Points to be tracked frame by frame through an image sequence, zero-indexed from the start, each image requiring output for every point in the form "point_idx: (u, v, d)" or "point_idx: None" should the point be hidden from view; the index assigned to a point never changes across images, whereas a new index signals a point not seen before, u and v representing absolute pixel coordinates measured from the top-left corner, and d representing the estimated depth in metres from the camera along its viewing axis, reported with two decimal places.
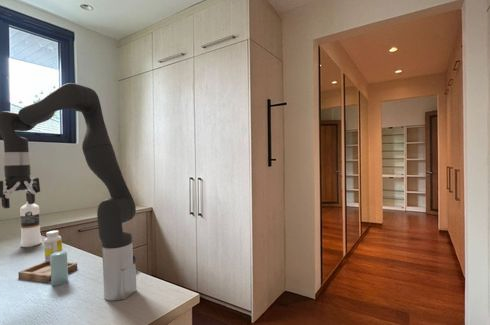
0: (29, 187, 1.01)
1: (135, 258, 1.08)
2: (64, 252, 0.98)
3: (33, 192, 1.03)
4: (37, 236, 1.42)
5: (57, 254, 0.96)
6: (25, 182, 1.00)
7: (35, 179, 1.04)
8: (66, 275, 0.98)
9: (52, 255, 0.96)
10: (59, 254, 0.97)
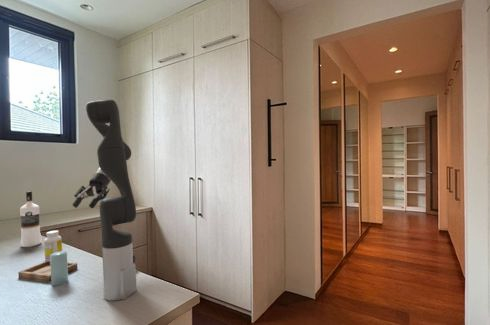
0: (94, 191, 1.11)
1: (135, 258, 1.09)
2: (64, 252, 0.98)
3: (95, 196, 1.09)
4: (37, 236, 1.42)
5: (57, 254, 0.96)
6: (93, 187, 1.12)
7: None
8: (66, 275, 0.98)
9: (52, 255, 0.96)
10: (59, 254, 0.97)
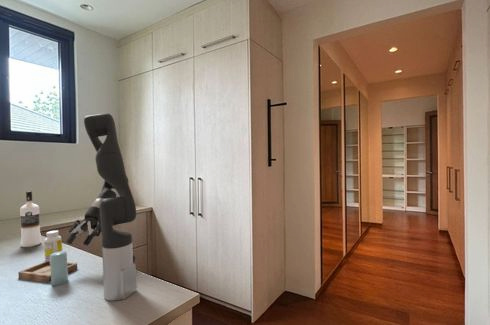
0: (89, 227, 1.07)
1: (134, 257, 1.09)
2: (63, 252, 0.98)
3: (90, 232, 1.06)
4: (37, 236, 1.42)
5: (57, 254, 0.96)
6: (88, 222, 1.09)
7: None
8: (66, 275, 0.98)
9: (52, 255, 0.96)
10: (59, 254, 0.97)
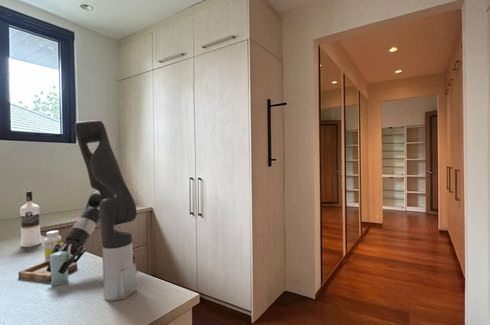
0: (68, 252, 0.99)
1: (134, 257, 1.10)
2: (64, 252, 0.98)
3: (66, 259, 0.97)
4: (37, 236, 1.42)
5: (57, 254, 0.96)
6: (70, 245, 1.01)
7: None
8: (66, 275, 0.98)
9: (52, 255, 0.96)
10: (59, 254, 0.97)
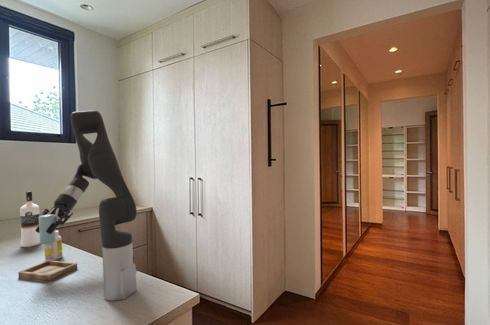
0: (55, 214, 1.06)
1: (133, 256, 1.10)
2: (52, 215, 1.06)
3: (54, 221, 1.05)
4: (37, 236, 1.42)
5: (45, 216, 1.04)
6: (57, 209, 1.08)
7: None
8: (54, 236, 1.05)
9: (40, 216, 1.03)
10: (47, 216, 1.04)
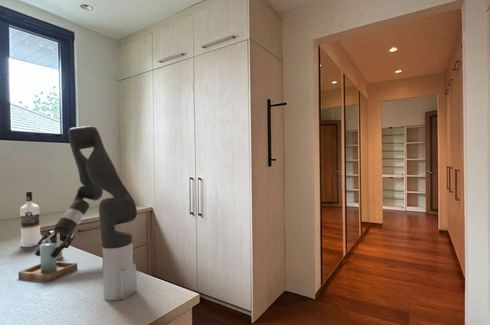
0: (58, 239, 1.07)
1: (133, 256, 1.11)
2: (52, 243, 1.07)
3: (58, 244, 1.05)
4: (37, 236, 1.42)
5: (46, 244, 1.05)
6: (58, 233, 1.08)
7: None
8: (55, 264, 1.06)
9: (41, 245, 1.04)
10: (48, 244, 1.05)
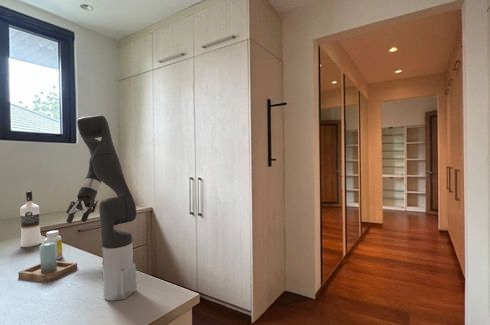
0: (83, 205, 1.17)
1: None
2: (53, 243, 1.07)
3: (85, 210, 1.15)
4: (37, 236, 1.42)
5: (46, 245, 1.05)
6: (82, 201, 1.18)
7: None
8: (55, 264, 1.06)
9: (41, 245, 1.04)
10: (48, 244, 1.05)
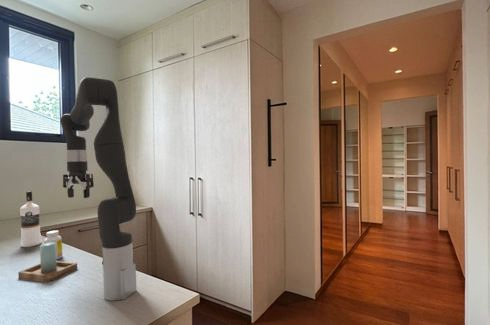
0: (79, 182, 1.09)
1: None
2: (53, 243, 1.06)
3: (84, 187, 1.09)
4: (37, 236, 1.42)
5: (47, 245, 1.04)
6: (76, 177, 1.09)
7: None
8: (55, 264, 1.06)
9: (42, 245, 1.04)
10: (48, 245, 1.05)
